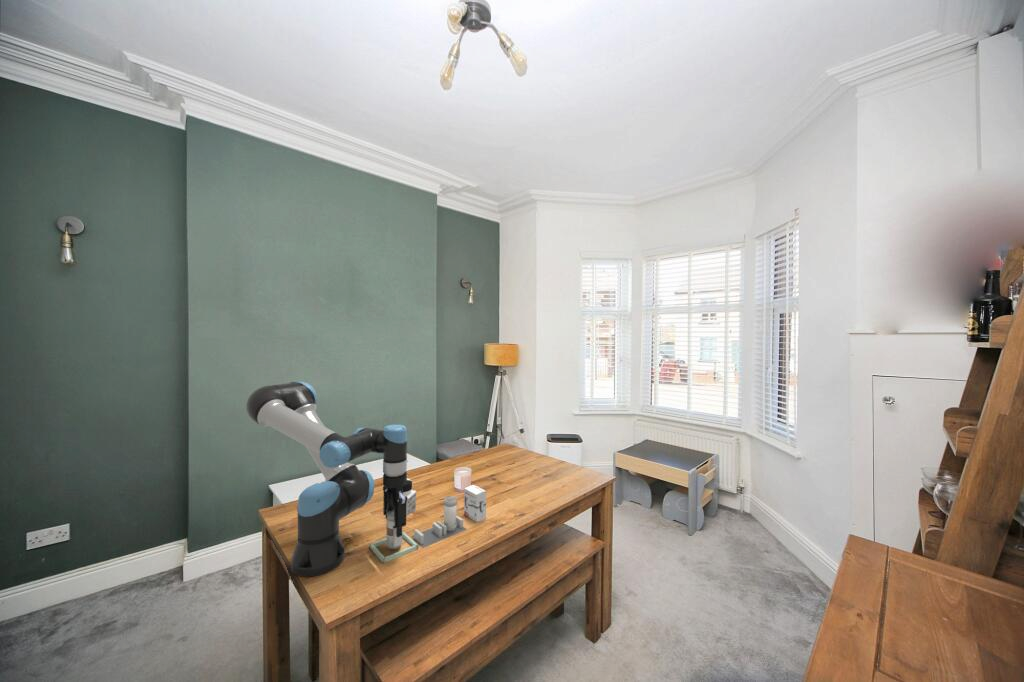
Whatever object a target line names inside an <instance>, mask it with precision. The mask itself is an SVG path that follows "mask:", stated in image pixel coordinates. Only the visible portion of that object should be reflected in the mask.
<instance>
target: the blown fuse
mask: <svg viewBox="0 0 1024 682" xmlns="http://www.w3.org/2000/svg"><path fill="white" fill-rule="evenodd" d="M386 525H387V543H385V544H386V548H387V549H389V550H396V549H399V548H400V547H401V546H402V544H401V545H399V546H396V547H394V546H393V533H394V528H393V526H395V520H394V509H392V510H390V511H388V512H387V519H386Z"/></svg>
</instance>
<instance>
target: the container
mask: <svg viewBox="0 0 1024 682" xmlns="http://www.w3.org/2000/svg"><path fill="white" fill-rule="evenodd" d="M402 489H403V496H404V497H405V496H407V503H406V516H409V515H410V514H412V513H413V512H414V511H415V510H417V490H413V480H412V479H411V478H407V482H406V484H405V485H404V486H403V487H402ZM397 502H398V501H397Z"/></svg>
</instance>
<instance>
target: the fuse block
mask: <svg viewBox="0 0 1024 682" xmlns="http://www.w3.org/2000/svg"><path fill="white" fill-rule="evenodd" d="M456 523H457V529H456V530H455V531H453V532H446V531H447V526H446V525H444V522H442V521H440V520H436V522H435V521H434V522H432V524H431V525H432V527H431V528H428V529H425V530H424V531H420V530H419V529H418V528H416V529H414V531H413V532H414V533H413V535H411V536H410V538H411V539H412V540H413V541H414V542H415V543H416V544H418V546H420V547H421V548H427V547H429V546H431V545H433V544H435V543H438V542H440V541H443V540H445V539H448V538H450V537H453V536H455V535H457V534H460V533H462V532H465V531H467V530H468V529H467V528H466V527H465V526H464V519H463V518H462V517H460V516H458V515H456Z"/></svg>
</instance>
